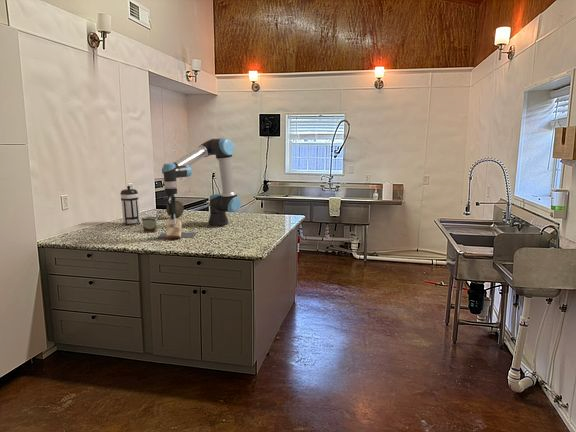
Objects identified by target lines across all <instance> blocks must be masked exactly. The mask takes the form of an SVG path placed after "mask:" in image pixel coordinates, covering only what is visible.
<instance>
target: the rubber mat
mask: <svg viewBox="0 0 576 432" xmlns="http://www.w3.org/2000/svg"><path fill="white" fill-rule="evenodd" d="M197 234H198V232H197V231H192V232H191V231H190V232H181V238H180V239H189V238H190V239H191V238H195V237H196V235H197ZM159 239H161V240H162V239H168V237H167V232H162V233H160V234H159V235H158V236H157V237H156V240H159Z"/></svg>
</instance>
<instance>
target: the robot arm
mask: <svg viewBox="0 0 576 432" xmlns="http://www.w3.org/2000/svg"><path fill="white" fill-rule="evenodd" d="M234 152H235V145H234V142H233V141H232V140H230V139H229V138H211V139H208V140H206V141H205V142H203V143H201V144H200V145H198V146H197V148H196V149H194V150H193V151H191V152H189V153H187V154H185V155H184V156H182V157H180V158H179V159H177V160H176V161H174V162H172V163H170V162H169V163H163V166H162V167H161V173H162V175H163V185H164V194H165V195H167V205H168V207H169V215H170V216H169V215H168V216H169V217H170V218H171V224H176V221H175V214H176V213H175V212H176V211H175V201H176V200H177V199H176V196H175V195H177V194H178V188H177V187H178V184H177V179H178V178H188V177H191V175H192V174H193V171H192V170H193V169H192V167H191V166H192V165H193V164H195V163H197V162H199V160H201V159H203V158H208V157H209V156H215V159H216V160H217V161H218V167H219V175H220V181H221V182H220V183H221V189H222V193H217V194H210V195H209V209H210V210H209V212H210V213H209V214H210V215H209V219H208V225H209V226H226V225H228V224H229V219H228V216H227V214H226V213H227V212H228V213H237V212H238V211H239V210H240V208H241V207H242V200H241V198H240V197H238V194H237V192H236V191H235V186H234V177H233V170H232V169H233V168H232V161H231V159H232V158H233V154H234ZM170 218H169V219H170Z"/></svg>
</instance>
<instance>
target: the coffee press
mask: <svg viewBox="0 0 576 432" xmlns="http://www.w3.org/2000/svg"><path fill="white" fill-rule="evenodd" d="M126 188H127V189H126ZM126 188H125V189H121V191H120V193H119V194H120V201H121V210H122V211H121V212H122V222H123V225H124V227H127V226H128V225H130V224H131V225H133V224H137V226H138V225H141V222H140V220H141V219H140V209H139V195H138V194H139V192H138V190H137V189H135V188H131V186H130V185H127V187H126Z"/></svg>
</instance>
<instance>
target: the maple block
mask: <svg viewBox="0 0 576 432" xmlns="http://www.w3.org/2000/svg"><path fill="white" fill-rule="evenodd" d="M166 219H167V223H166V233H167V237H168V238H167V239H168V240H170V239H171V240H172V239H173V240H174V239H175V240H176V239H182V238H181V233H182V223H183V221H182V219H181V218H180V217H179V218H175V221H176V224H171V218H166Z"/></svg>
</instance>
